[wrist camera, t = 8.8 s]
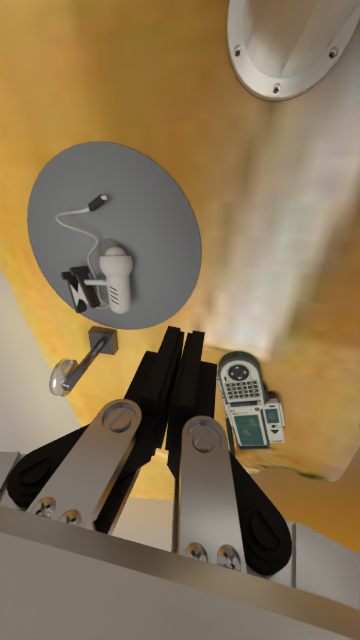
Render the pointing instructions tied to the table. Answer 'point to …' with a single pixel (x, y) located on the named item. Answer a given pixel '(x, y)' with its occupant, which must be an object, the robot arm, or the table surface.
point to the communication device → (248, 404)
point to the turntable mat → (116, 230)
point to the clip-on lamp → (111, 265)
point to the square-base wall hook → (69, 369)
